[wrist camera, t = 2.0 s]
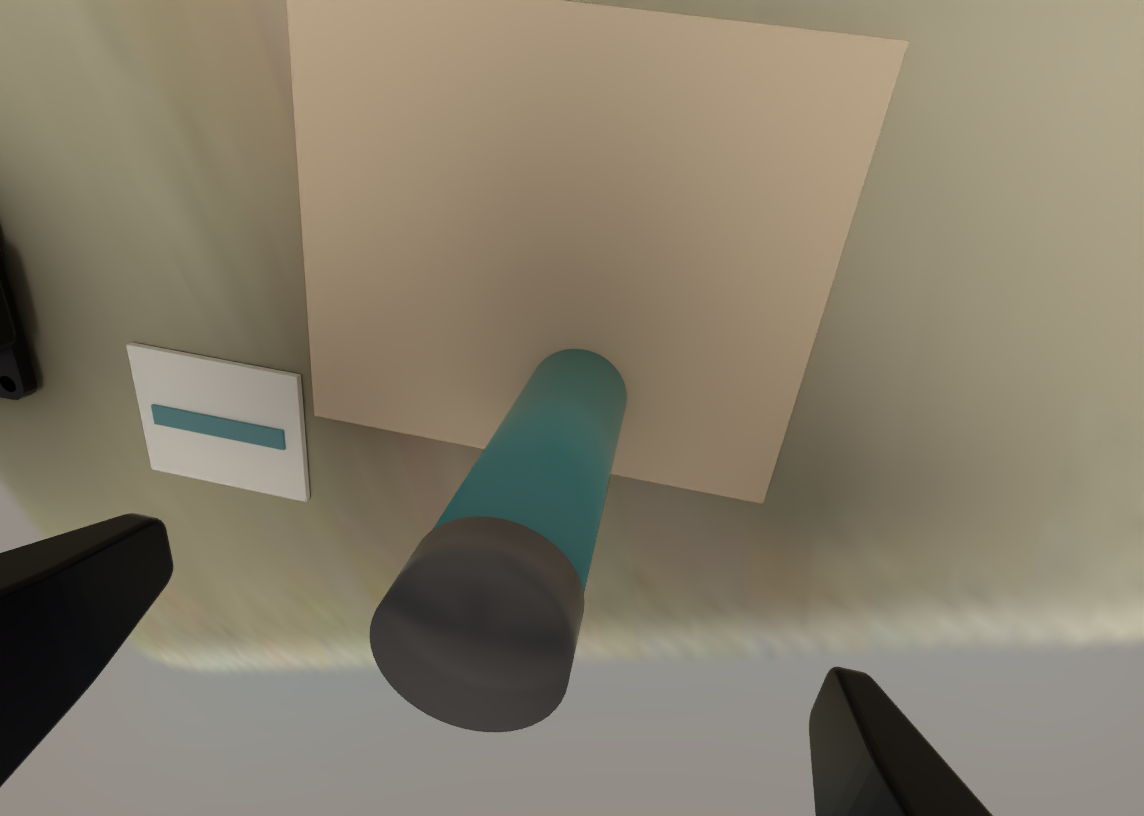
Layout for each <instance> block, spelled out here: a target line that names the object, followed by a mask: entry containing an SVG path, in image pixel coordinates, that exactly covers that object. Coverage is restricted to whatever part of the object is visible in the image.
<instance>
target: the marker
mask: <svg viewBox="0 0 1144 816" xmlns="http://www.w3.org/2000/svg"><path fill="white" fill-rule="evenodd" d="M626 401H627V393H626V387H625V384H624V381H623V379H622V377H621V375H620V373H619V372H618V370H617V369H616V368H615V367H614V365H613V364H611V363H610V362H609V361H608V360H607V359H605V358H604V357H602V356H600V355H599V354H597V353H594V352H591V351H588V350H583V349H567V350H562V351H559V352H556V353H554V354H552V355H550V356H548V357H547V358H546V359H545V360H543V361H542V362H541V363H540V364H539V366H538V367H537V368H536V370H535V371H534V373H533V374H532V376H531V378H530V379H529V381H528V382H527V384H526V385H525V387H524V388H523V390H522V392H521V393H520V395H519V396H518V398H517V399H516V401H515V402H514V404H513V406H512V407H511V409H510V410H509V412H508V413H507V415H506V416H505V418H504V420H503V421H502V423H501V424H500V426H499V427H498V429H497V430H496V432H495V433H494V435H493V437H492V438H491V440H490V441H489V443H488V444H487V446H486V447H485V449H484V451H483V452H482V454H481V455H480V457H479V458H478V460H477V461H476V463H475V465H474V466H473V468H472V469H471V471H470V472H469V474H468V475H467V477H466V479H465V480H464V482H463V483H462V485H461V486H460V488H459V489H458V491H457V492H456V494H455V496H454V497H453V499H452V500H451V502H450V503H449V505H448V506H447V508H446V510H445V511H444V513H443V514H442V516H441V517H440V519H439V520H438V522H437V524H436V525H435V527H434V528H433V530H432V531H431V532H429V533H428V534H427V535H426V536H425V537H424V538H423V539H422V541H421V542H420V543H419V545H418V546H417V548H416V549H415V551H414V552H413V554H412V555H411V557H410V559H409V560H408V562H407V563H406V565H405V566H404V568H403V569H402V571H401V572H400V574H399V575H398V577H397V578H396V580H395V581H394V583H393V584H392V586H391V588H390V589H389V591H388V592H387V594H386V595H385V597H384V598H383V600H382V601H381V603H380V604H379V606H378V607H377V609H376V611H375V613H374V616H373V618H372V622H371V626H370V643H371V649H372V652H373V656H374V658H375V661H376V663H377V665H378V667H379V669H380V671H381V672H382V674H383V676H384V677H385V678H386V680H387V681H388V682H389V684H390V685H391V686H392V687H393V688H394V689H395V690H396V691H397V692H398V693H399V694H400V695H401V696H402V697H403V698H404V699H405V700H407V701H408V702H410V703H411V704H412V705H413V706H415V707H416V708H418V709H419V710H421V711H423V712H424V713H426V714H427V715H430V716H432V717H434V718H436V719H438V720H440V721H442V722H445V723H448V724H450V725H453V726H457V727H460V728H464V729H469V730H474V731H483V732H507V731H514V730H519V729H523V728H526V727H528V726H532V725H534V724H535V723H538V722H540V721H542V720H543V719H545V718H546V717H548V716H549V715H550V714H551V713H552V712H553V711H554V710H555V709H556V708H557V707H558V705H559V704H560V703H561V701H562V699H563V697H564V695H565V693H566V689H567V685H568V682H569V676H570V672H571V668H572V663H573V658H574V654H575V649H576V645H577V640H578V635H579V631H580V626H581V621H582V617H583V612H584V591H585V586H586V582H587V577H588V573H589V568H590V564H591V559H592V555H593V550H594V546H595V542H596V537H597V533H598V528H599V524H600V519H601V515H602V510H603V506H604V501H605V497H606V492H607V488H608V483H609V479H610V474H611V470H612V465H613V461H614V456H615V452H616V448H617V443H618V439H619V434H620V430H621V425H622V421H623V416H624V412H625V407H626Z"/></svg>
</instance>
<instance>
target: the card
mask: <svg viewBox="0 0 1144 816" xmlns="http://www.w3.org/2000/svg"><path fill="white" fill-rule="evenodd" d="M126 347H127V351H128V356H129V361H130V366H131V371H132V376H133V381H134V385H135V390H136V395H137V400H138V405H139V410H140V415H141V419H142V424H143V429H144V434H145V439H146V444H147V449H148V453H149V458H150V463H151V468H152V469H153V470H158V471H162V472H167V473H172V474H176V475H181V476H186V477H191V478H195V479H200V480H205V481H209V482H214V483H219V484H223V485H228V486H233V487H238V488H242V489H247V490H252V491H256V492H261V493H266V494H271V495H275V496H280V497H285V498H289V499H294V500H299V501H303V502H307V501H308V500H309V499H310V490H309V476H308V463H307V450H306V436H305V423H304V410H303V396H302V383H301V374H296V373H291V372H285V371H280V370H275V369H270V368H264V367H259V366H254V365H249V364H243V363H238V362H233V361H227V360H222V359H217V358H212V357H206V356H201V355H196V354H191V353H185V352H180V351H175V350H170V349H164V348H159V347H154V346H149V345H143V344H138V343H133V342H132V343H129V344H126Z"/></svg>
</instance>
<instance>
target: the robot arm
mask: <svg viewBox="0 0 1144 816" xmlns="http://www.w3.org/2000/svg"><path fill="white" fill-rule="evenodd" d="M36 390H37V380H36V377H35V373H34V370H33V366H32V363H31V359H30V356H29V352H28V348H27V345H26V341H25V338H24V334H23V331H22V327H21V324H20V320H19V316H18V313H17V309H16V306H15V302H14V299H13V295H12V292H11V288H10V285H9V281H8V277H7V274H6V270H5V267H4V263H3V260H2V256H1V253H0V397H2V398H7V399H12V400H19V399H21V398H24V397H26V396H29V395H31V394H33V393H35V392H36ZM172 572H173V560H172V555H171V550H170V545H169V540H168V535H167V530H166V527H165V525H164V523H163V522H162V521H161V520H159V519H158V518H154V517H149V516H145V515H140V514H132V513H131V514H125V515H122V516H118V517H115V518H112V519H109V520H106V521H102V522H99V523H96V524H93V525H89V526H86V527H83V528H80V529H77V530H73V531H70V532H67V533H64V534H61V535H57V536H54V537H51V538H48V539H44V540H41V541H38V542H35V543H32V544H29V545H26V546H22V547H19V548H16V549H13V550H9V551H6V552H3V553H0V787H1V786H2V785H3V784H4V783H5V781H6V780H7V779H8V778H9V777H10V776H11V775H12V774H13V773H14V771H15V770H16V769H17V768H18V767H19V766H20V765H21V763H22V762H23V761H24V760H25V759H26V758H27V757H28V756H29V755H30V753H31V752H32V751H33V750H34V749H35V748H36V747H37V746H38V744H39V743H40V742H41V741H42V740H43V739H44V738H45V737H46V735H47V734H48V733H49V732H50V731H51V730H52V729H53V728H54V726H55V725H56V724H57V723H58V722H59V721H60V720H61V719H62V718H63V716H64V715H65V714H66V713H67V712H68V711H69V710H70V709H71V707H72V706H73V705H74V704H75V703H76V701H78V699H79V698H80V697H81V696H82V695H83V694H84V692H85V691H86V690H87V689H88V688H89V687H90V685H91V684H92V683H93V682H94V680H95V679H96V678H97V677H98V675H99V674H100V673H101V671H102V670H103V669H104V668H105V667H106V665H107V664H108V663H109V661H110V660H111V658H112V657H113V656H114V654H115V653H116V652H117V651H118V649H119V648H120V647H121V645H122V644H123V643H124V641H125V640H126V639H127V637H128V636H129V635H130V633H131V632H132V631H133V629H134V628H135V627H136V625H137V624H138V623H139V621H140V620H141V619H142V617H143V616H144V615H145V613H146V612H147V611H148V609H149V608H150V607H151V605H152V604H153V603H154V601H155V600H156V599H157V597H158V596H159V595H160V593H161V592H162V591H163V589H164V588H165V587H166V585H167V584H168V582H169V580H170V578H171V576H172ZM809 736H810V749H811V762H812V774H813V787H814V799H815V812H816V816H993V815H992V814H991V813H990V812H989V811H988V810H987V809H986V807H985V806H984V805H983V804H982V803H981V802H980V800H978V798H977V797H976V796H975V795H974V794H973V792H972V791H971V790H970V789H969V788H968V787H967V786H966V784H965V783H964V782H963V781H962V780H961V779H960V778H959V776H958V775H957V774H956V773H955V772H954V771H953V770H952V769H951V767H949V765H948V764H947V763H946V762H945V761H944V759H943V758H942V757H941V756H940V755H939V754H938V753H937V752H936V750H935V749H934V748H933V747H932V746H931V745H930V743H929V742H928V741H927V740H926V739H925V738H924V737H923V735H922V734H921V733H920V732H919V731H918V730H917V729H916V728H915V726H914V725H913V724H912V723H911V722H910V721H909V719H908V718H907V717H906V716H905V715H904V714H903V713H902V711H901V710H900V709H899V708H898V707H897V706H896V705H895V704H894V702H893V701H892V700H891V699H890V698H889V697H888V696H887V694H886V693H885V692H884V691H883V690H882V689H881V688H880V687H879V685H878V684H877V683H876V682H875V681H874V680H873V679H872V678H871V677H870V676H869V675H867V674H866V673H863V672H860V671H855V670H851V669H846V668H841V667H833V668H832V669H830V671H829V672H828V674H827V676H826V678H825V680H824V682H823V685H822V687H821V689H820V691H819V694H818V696H817V698H816V701H815V703H814V706H813V708H812V710H811V714H810V720H809Z"/></svg>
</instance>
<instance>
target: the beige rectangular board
mask: <svg viewBox="0 0 1144 816" xmlns="http://www.w3.org/2000/svg"><path fill="white" fill-rule="evenodd" d="M287 15H288V30H289V45H290V60H291V75H292V90H293V105H294V120H295V135H296V150H297V165H298V180H299V195H300V210H301V225H302V240H303V254H304V269H305V284H306V299H307V314H308V329H309V344H310V359H311V374H312V389H313V404H314V416H318V417H323V418H328V419H334V420H339V421H344V422H349V423H354V424H359V425H364V426H369V427H374V428H379V429H384V430H389V431H394V432H400V433H405V434H410V435H415V436H420V437H425V438H430V439H435V440H440V441H445V442H450V443H455V444H461V445H466V446H471V447H476V448H481V449H485V447H486V446H487V444H488V443H489V441H490V440H491V438H492V437H493V435H494V433H495V432H496V430H497V429H498V427H499V426H500V424H501V423H502V421H503V420H504V418H505V416H506V415H507V413H508V412H509V410H510V409H511V407H512V406H513V404H514V402H515V401H516V399H517V398H518V396H519V395H520V393H521V392H522V390H523V388H524V387H525V385H526V384H527V382H528V381H529V379H530V378H531V376H532V374H533V373H534V371H535V370H536V368H537V367H538V366H539V364H540V363H541V362H542V361H543V360H545V359H546V358H547V357H548V356H550V355H552V354H554V353H556V352H559V351H562V350H567V349H583V350H588V351H591V352H594V353H597V354H599V355H600V356H602V357H604V358H605V359H607V360H608V361H609V362H610V363H611V364H613V365H614V367H615V368H616V369H617V370H618V372H619V373H620V375H621V377H622V379H623V381H624V384H625V387H626V393H627V401H626V407H625V412H624V416H623V421H622V425H621V430H620V434H619V439H618V443H617V448H616V452H615V456H614V461H613V465H612V470H611V474H613V475H618V476H623V477H628V478H633V479H638V480H643V481H648V482H654V483H659V484H664V485H669V486H674V487H679V488H684V489H689V490H694V491H699V492H704V493H709V494H715V495H720V496H725V497H730V498H735V499H740V500H745V501H750V502H755V503H760V504H763V503H764V500H765V496H766V493H767V490H768V487H769V484H770V480H771V477H772V474H773V471H774V468H775V465H776V461H777V458H778V455H779V452H780V449H781V446H782V442H783V439H784V436H785V433H786V430H787V426H788V423H789V420H790V417H791V414H792V411H793V407H794V404H795V401H796V398H797V395H798V392H799V388H800V385H801V382H802V379H803V376H804V372H805V369H806V366H807V363H808V360H809V357H810V353H811V350H812V347H813V344H814V341H815V337H816V334H817V331H818V328H819V325H820V322H821V318H822V315H823V312H824V309H825V306H826V303H827V299H828V296H829V293H830V290H831V287H832V283H833V280H834V277H835V274H836V271H837V268H838V264H839V261H840V258H841V255H842V252H843V249H844V245H845V242H846V239H847V236H848V233H849V229H850V226H851V223H852V220H853V217H854V214H855V210H856V207H857V204H858V201H859V198H860V195H861V191H862V188H863V185H864V182H865V179H866V175H867V172H868V169H869V166H870V163H871V160H872V156H873V153H874V150H875V147H876V144H877V141H878V137H879V134H880V131H881V128H882V125H883V121H884V118H885V115H886V112H887V109H888V106H889V102H890V99H891V96H892V93H893V90H894V87H895V83H896V80H897V77H898V74H899V71H900V67H901V64H902V61H903V58H904V55H905V52H906V48H907V45H908V42H909V41H904V40H895V39H887V38H878V37H870V36H861V35H853V34H844V33H836V32H827V31H819V30H810V29H802V28H793V27H785V26H776V25H768V24H759V23H751V22H742V21H734V20H725V19H717V18H708V17H700V16H691V15H683V14H674V13H666V12H657V11H649V10H640V9H632V8H623V7H615V6H607V5H598V4H590V3H581V2H573V1H564V0H287Z"/></svg>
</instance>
